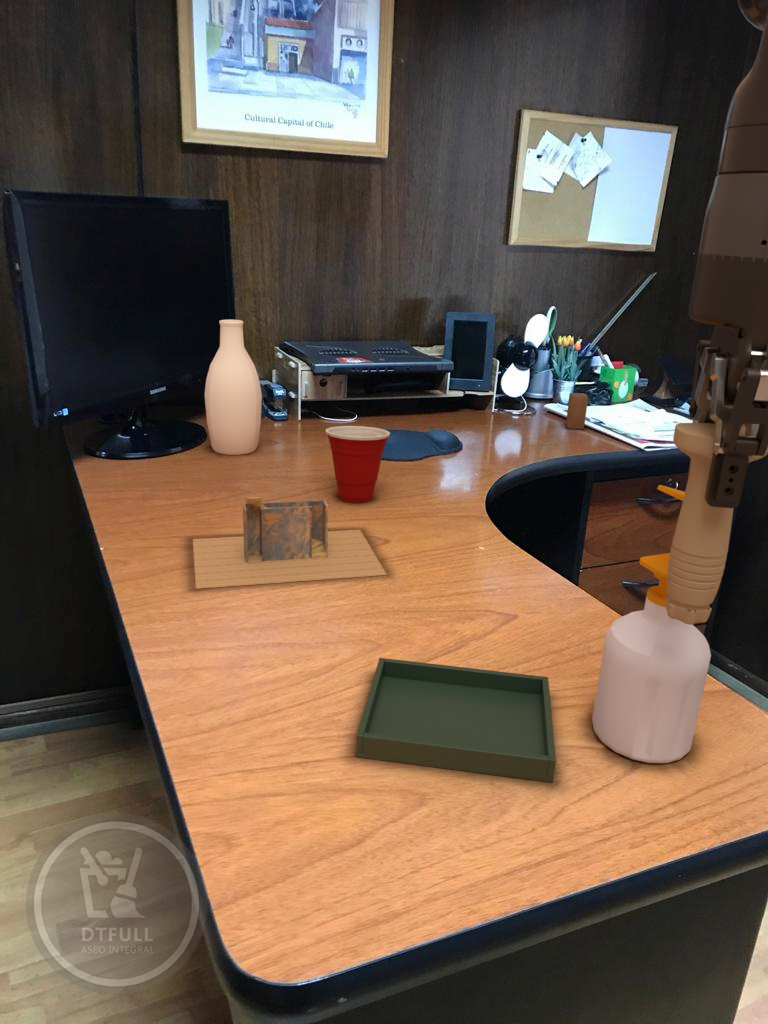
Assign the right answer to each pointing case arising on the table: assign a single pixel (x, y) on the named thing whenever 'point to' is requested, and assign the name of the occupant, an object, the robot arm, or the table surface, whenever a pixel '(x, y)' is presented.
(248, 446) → the bottle
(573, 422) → the wooden block
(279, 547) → the ruin model on sheet
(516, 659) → the table surface
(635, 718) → the soap bottle
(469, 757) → the brush tray
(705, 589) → the handle
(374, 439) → the plastic cup
